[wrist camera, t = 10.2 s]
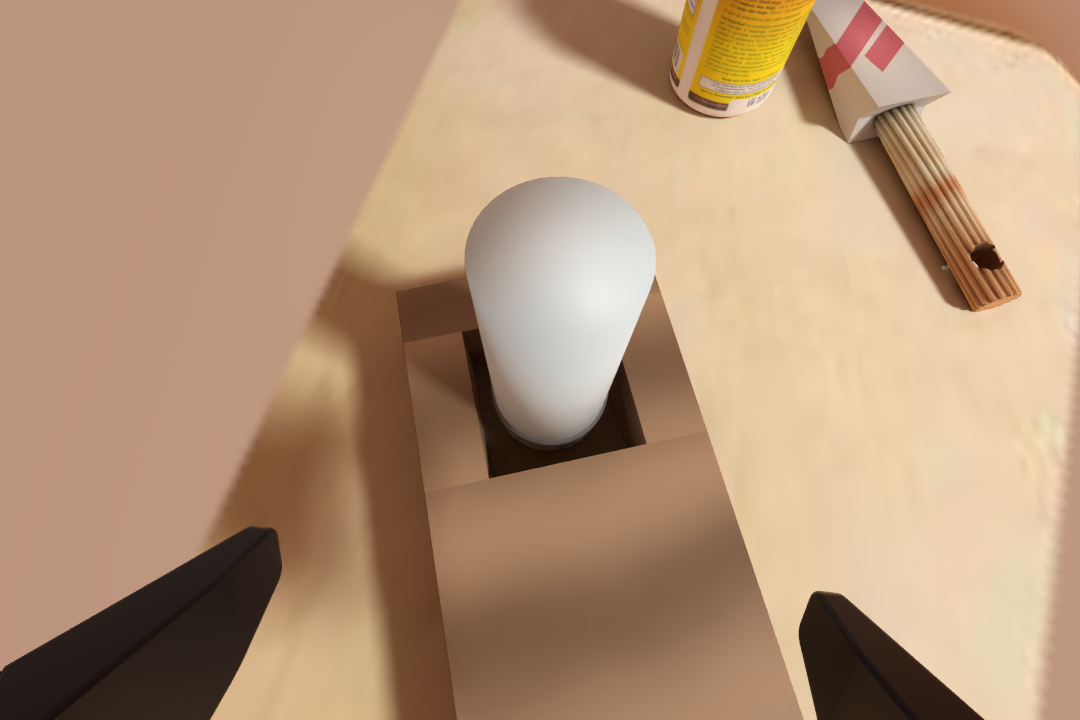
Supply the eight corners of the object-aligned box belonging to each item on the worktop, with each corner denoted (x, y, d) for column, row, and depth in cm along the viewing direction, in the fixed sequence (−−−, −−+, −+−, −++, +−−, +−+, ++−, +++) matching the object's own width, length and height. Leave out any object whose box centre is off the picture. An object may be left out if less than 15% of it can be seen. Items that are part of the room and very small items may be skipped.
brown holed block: (772, 736, 19) (820, 770, 16) (488, 812, 18) (477, 865, 15) (630, 286, 25) (644, 244, 22) (414, 328, 25) (396, 291, 21)
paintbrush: (867, -51, 29) (1062, 281, 23) (840, -2, 32) (1008, 308, 26) (800, -40, 29) (980, 300, 23) (777, 8, 32) (933, 325, 26)
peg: (608, 450, 23) (687, 324, 11) (508, 473, 22) (479, 366, 11) (583, 358, 24) (629, 158, 12) (489, 377, 24) (445, 191, 12)
